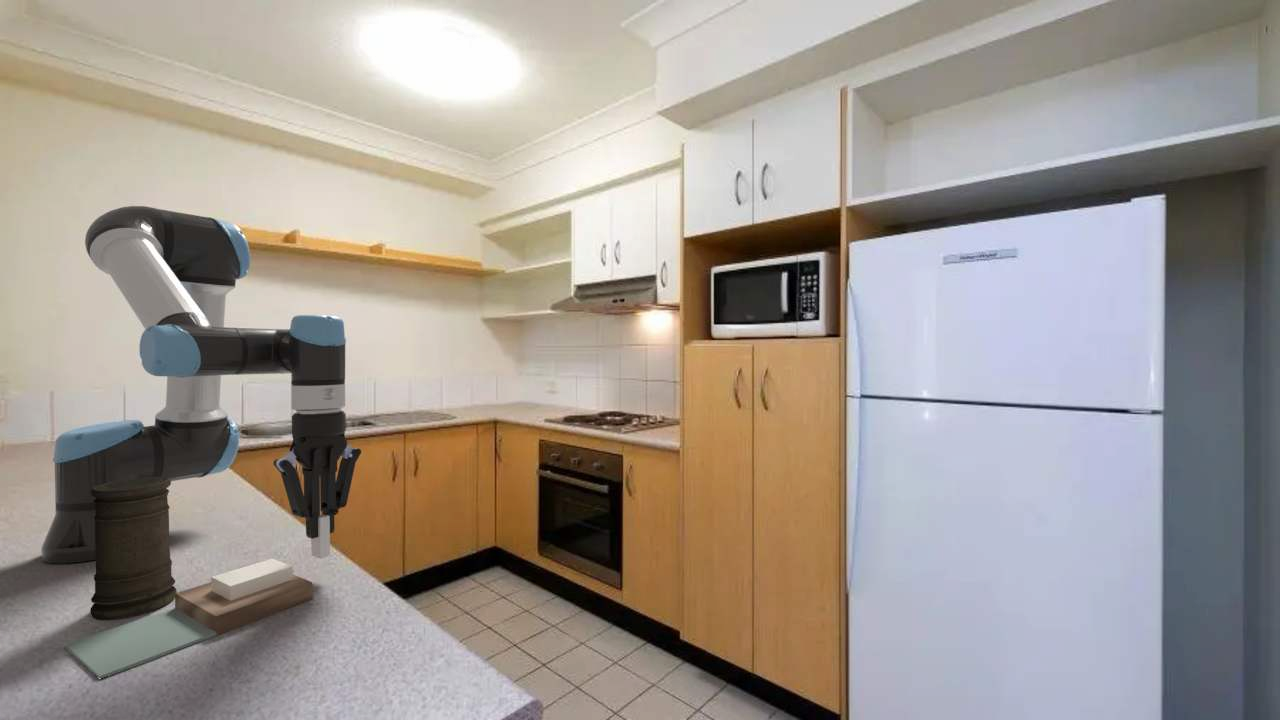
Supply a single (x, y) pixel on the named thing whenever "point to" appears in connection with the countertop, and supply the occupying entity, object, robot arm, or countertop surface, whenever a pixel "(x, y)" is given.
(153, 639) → the mat
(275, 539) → the countertop surface
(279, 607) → the board
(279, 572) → the block
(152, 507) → the container
